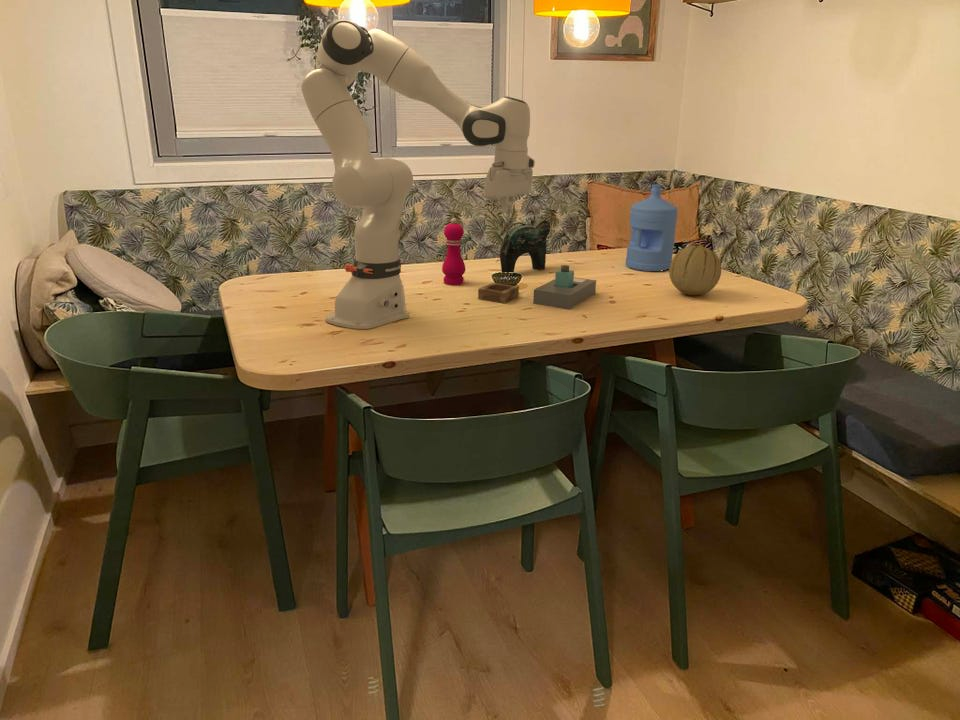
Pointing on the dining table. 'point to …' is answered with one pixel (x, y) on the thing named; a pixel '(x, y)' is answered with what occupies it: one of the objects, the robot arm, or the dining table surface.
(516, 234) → the dark green animal figurine
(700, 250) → the cantaloupe
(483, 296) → the brown wooden box
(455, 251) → the pepper mill
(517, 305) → the dining table surface
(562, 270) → the plug
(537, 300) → the block
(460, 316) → the dining table surface
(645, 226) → the water jug
